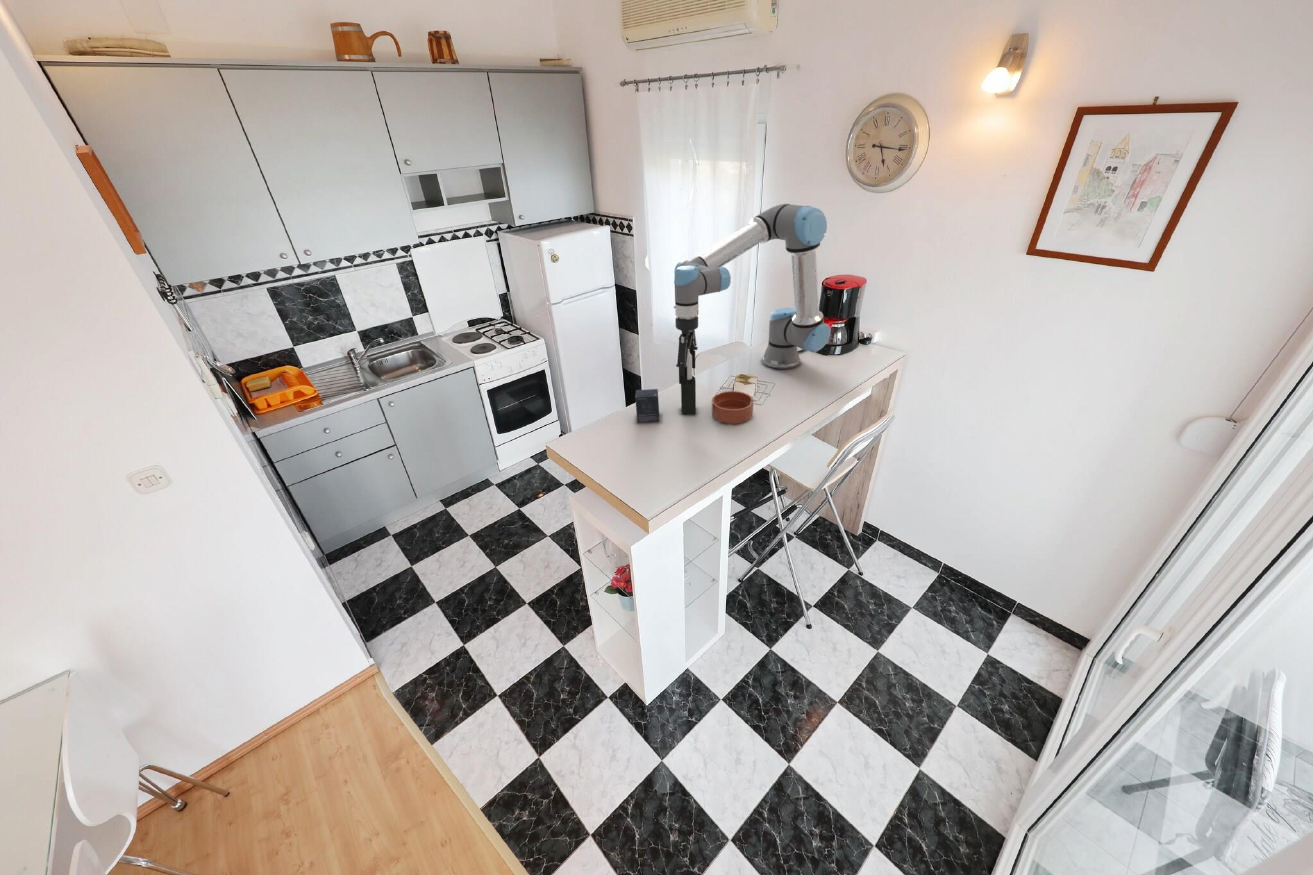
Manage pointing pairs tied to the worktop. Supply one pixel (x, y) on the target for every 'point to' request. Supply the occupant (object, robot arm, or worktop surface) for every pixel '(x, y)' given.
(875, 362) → the worktop surface
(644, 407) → the box
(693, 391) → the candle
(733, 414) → the bowl
